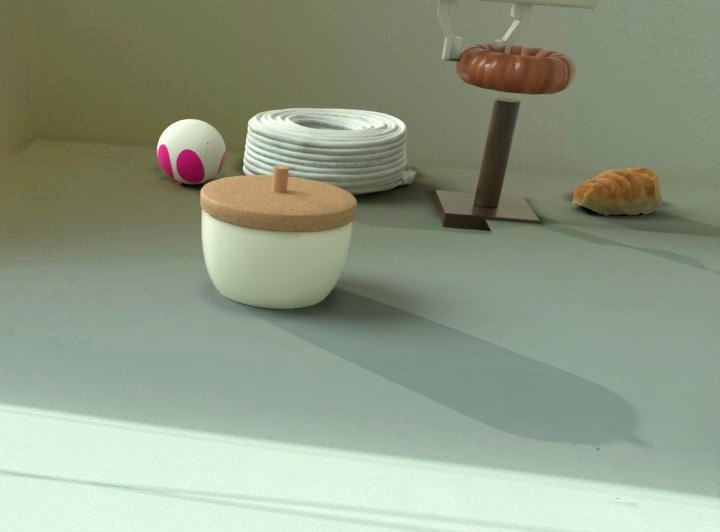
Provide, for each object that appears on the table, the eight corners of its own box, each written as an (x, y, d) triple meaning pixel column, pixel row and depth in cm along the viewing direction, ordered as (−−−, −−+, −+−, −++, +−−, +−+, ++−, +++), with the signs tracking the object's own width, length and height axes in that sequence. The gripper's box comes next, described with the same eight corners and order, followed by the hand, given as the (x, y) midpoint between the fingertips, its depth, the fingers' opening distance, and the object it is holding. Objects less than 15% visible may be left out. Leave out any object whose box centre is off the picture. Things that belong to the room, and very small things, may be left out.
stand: (520, 209, 95) (547, 95, 88) (536, 233, 88) (567, 112, 81) (433, 202, 95) (453, 88, 88) (442, 226, 88) (465, 104, 81)
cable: (424, 179, 102) (435, 118, 99) (368, 212, 90) (377, 143, 86) (283, 155, 108) (288, 96, 104) (212, 182, 96) (214, 116, 92)
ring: (555, 82, 88) (564, 48, 86) (580, 101, 80) (590, 63, 78) (447, 73, 88) (453, 38, 86) (461, 90, 80) (469, 52, 78)
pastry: (602, 221, 93) (614, 180, 90) (552, 204, 97) (562, 165, 95) (662, 213, 97) (675, 173, 94) (612, 197, 101) (623, 159, 99)
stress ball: (152, 212, 97) (126, 160, 92) (191, 156, 99) (167, 101, 93) (209, 224, 94) (185, 171, 88) (248, 166, 95) (227, 109, 90)
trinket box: (172, 316, 65) (174, 170, 59) (230, 275, 73) (236, 142, 67) (317, 345, 62) (334, 195, 56) (360, 299, 70) (379, 163, 64)
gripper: (628, -128, 77) (580, 66, 85) (384, -145, 77) (361, 49, 86) (650, -130, 72) (597, 76, 80) (389, -149, 72) (364, 58, 81)
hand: (473, 62), depth 83 cm, fingers closed on ring, 3 cm apart
